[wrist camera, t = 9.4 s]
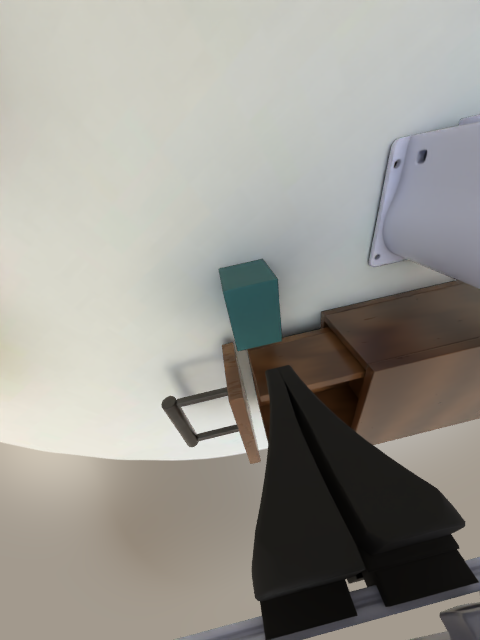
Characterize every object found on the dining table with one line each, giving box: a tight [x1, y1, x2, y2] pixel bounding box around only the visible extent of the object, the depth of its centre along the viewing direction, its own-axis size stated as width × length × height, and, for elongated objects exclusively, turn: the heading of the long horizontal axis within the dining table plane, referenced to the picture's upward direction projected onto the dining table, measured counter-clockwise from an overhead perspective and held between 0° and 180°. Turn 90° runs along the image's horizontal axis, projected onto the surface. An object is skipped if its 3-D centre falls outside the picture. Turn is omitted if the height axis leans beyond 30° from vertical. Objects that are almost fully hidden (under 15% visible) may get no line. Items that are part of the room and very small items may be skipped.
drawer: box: [162, 327, 366, 464], centre depth 23 cm, size 22×12×7 cm, turn 100°
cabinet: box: [320, 280, 480, 445], centre depth 24 cm, size 17×14×9 cm
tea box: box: [219, 259, 282, 351], centre depth 18 cm, size 6×4×4 cm, turn 10°
